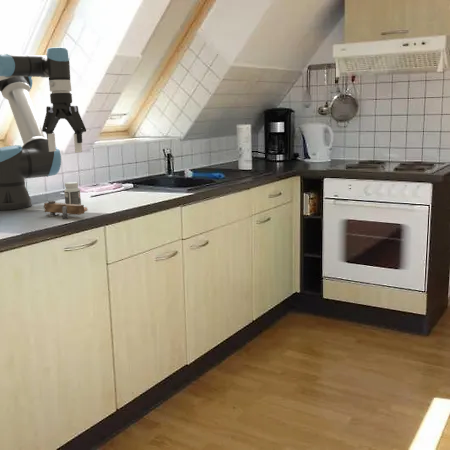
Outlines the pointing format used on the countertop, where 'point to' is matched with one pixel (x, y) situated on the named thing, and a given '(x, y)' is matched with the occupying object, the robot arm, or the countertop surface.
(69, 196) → the pill bottle
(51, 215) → the pivot pin
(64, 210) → the stop peg
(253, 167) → the countertop surface
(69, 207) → the leg bar
